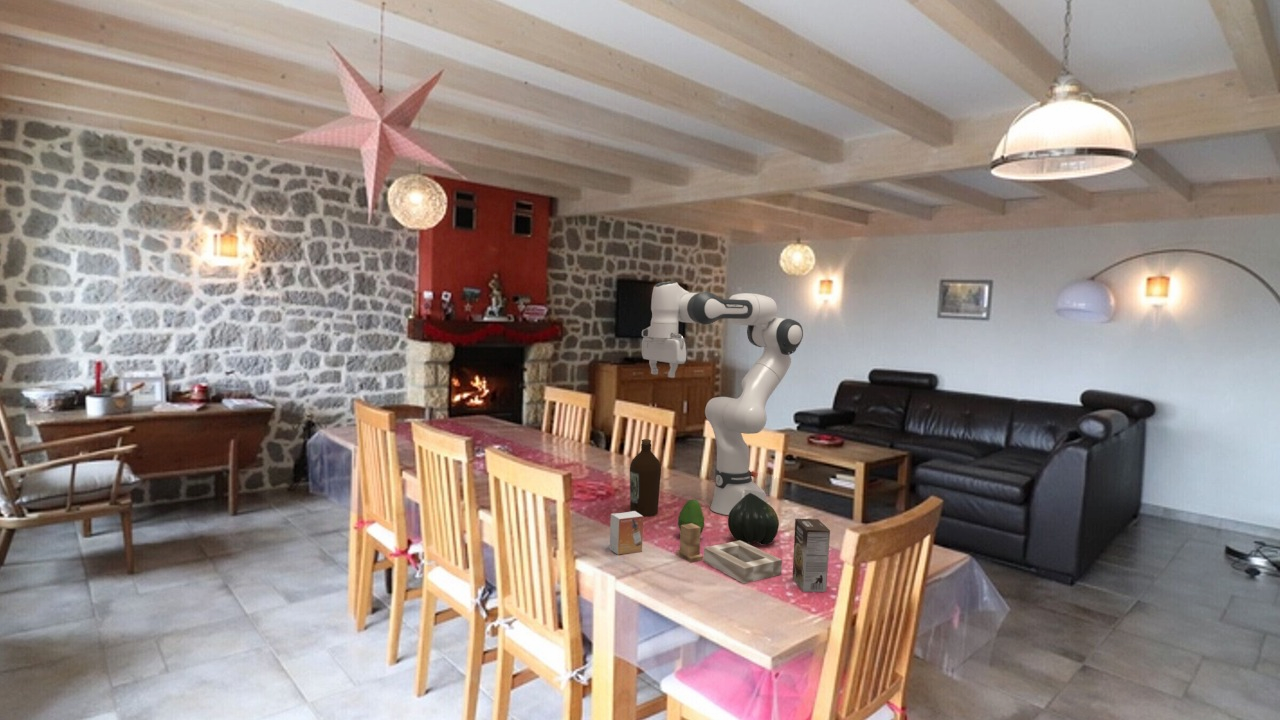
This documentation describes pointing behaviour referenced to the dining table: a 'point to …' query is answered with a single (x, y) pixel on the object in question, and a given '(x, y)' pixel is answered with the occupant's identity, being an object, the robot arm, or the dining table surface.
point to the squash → (753, 521)
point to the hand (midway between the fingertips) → (662, 375)
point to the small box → (626, 532)
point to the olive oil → (645, 481)
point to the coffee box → (811, 555)
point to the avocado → (691, 514)
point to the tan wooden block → (690, 543)
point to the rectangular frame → (742, 561)
